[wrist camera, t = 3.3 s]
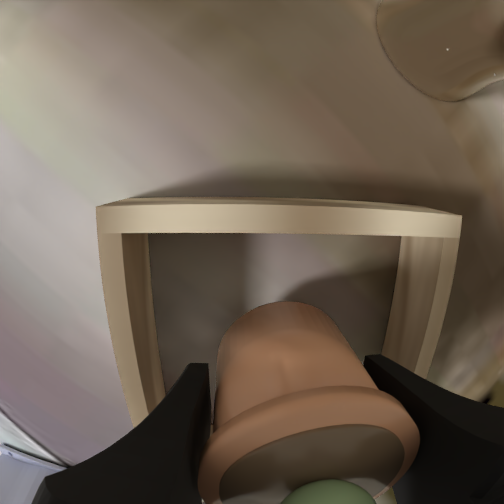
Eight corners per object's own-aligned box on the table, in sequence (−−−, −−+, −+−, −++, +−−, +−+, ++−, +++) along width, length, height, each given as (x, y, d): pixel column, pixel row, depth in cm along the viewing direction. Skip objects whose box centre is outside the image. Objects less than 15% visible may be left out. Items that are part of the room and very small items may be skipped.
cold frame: (158, 430, 14) (149, 472, 11) (127, 198, 11) (95, 207, 8) (373, 420, 15) (392, 456, 12) (419, 205, 12) (462, 215, 9)
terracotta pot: (212, 411, 12) (207, 594, 4) (206, 293, 11) (167, 531, 2) (338, 404, 12) (405, 562, 4) (359, 291, 11) (511, 454, 3)
